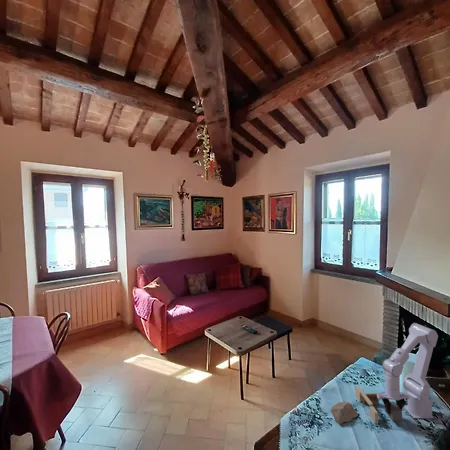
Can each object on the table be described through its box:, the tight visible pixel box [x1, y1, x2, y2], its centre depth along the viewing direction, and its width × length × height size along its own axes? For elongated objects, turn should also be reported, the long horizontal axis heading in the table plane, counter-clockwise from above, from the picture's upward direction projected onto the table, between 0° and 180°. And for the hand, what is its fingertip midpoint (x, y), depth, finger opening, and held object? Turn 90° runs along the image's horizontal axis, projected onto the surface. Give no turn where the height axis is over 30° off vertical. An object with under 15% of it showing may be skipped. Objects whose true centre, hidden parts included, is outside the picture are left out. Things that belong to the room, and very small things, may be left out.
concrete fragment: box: [330, 401, 359, 426], centre depth 123 cm, size 7×14×6 cm, turn 111°
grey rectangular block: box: [384, 401, 403, 422], centre depth 121 cm, size 4×6×5 cm
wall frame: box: [354, 385, 379, 425], centre depth 128 cm, size 2×19×6 cm, turn 178°
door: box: [361, 393, 380, 405], centre depth 131 cm, size 2×8×5 cm, turn 88°
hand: (393, 412), depth 121 cm, fingers closed on grey rectangular block, 4 cm apart
